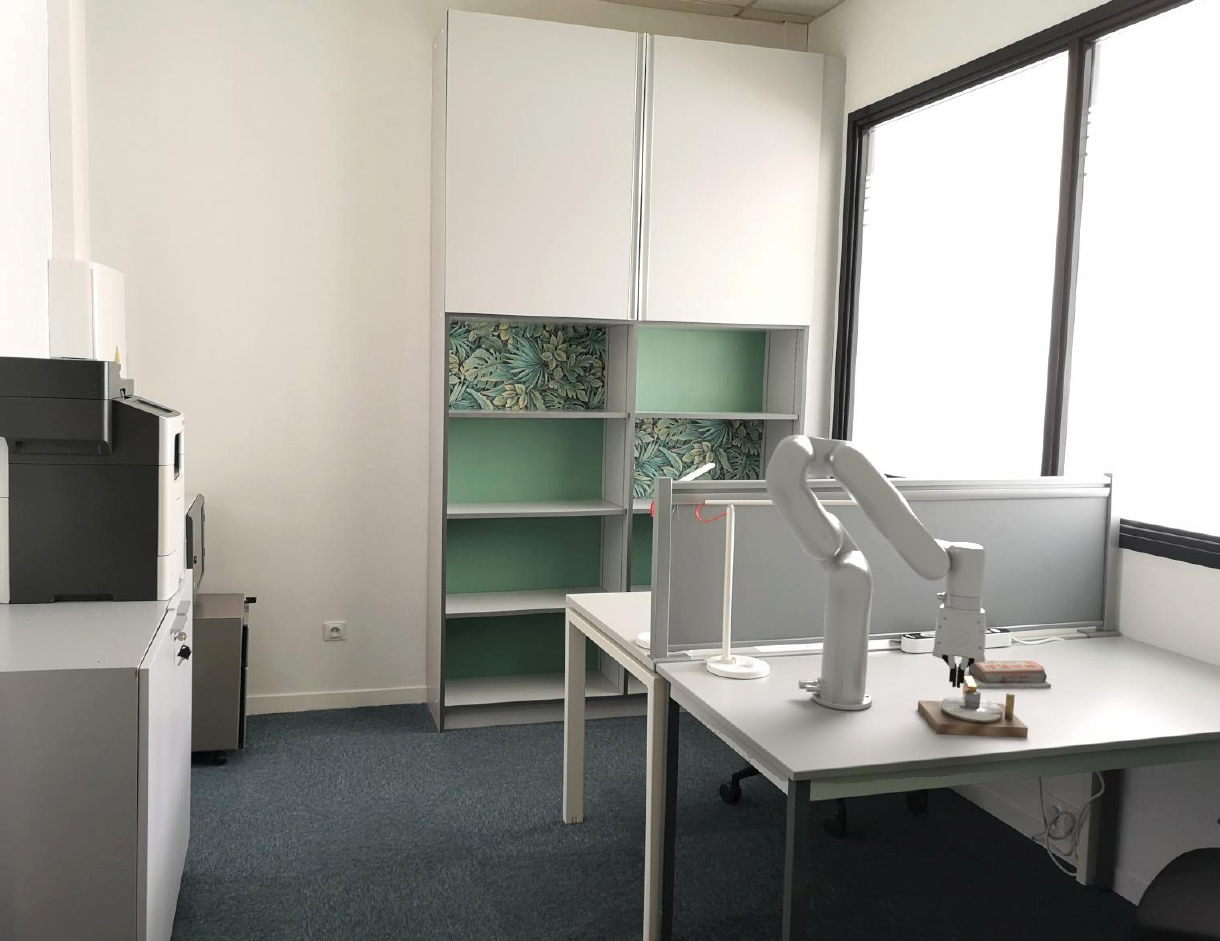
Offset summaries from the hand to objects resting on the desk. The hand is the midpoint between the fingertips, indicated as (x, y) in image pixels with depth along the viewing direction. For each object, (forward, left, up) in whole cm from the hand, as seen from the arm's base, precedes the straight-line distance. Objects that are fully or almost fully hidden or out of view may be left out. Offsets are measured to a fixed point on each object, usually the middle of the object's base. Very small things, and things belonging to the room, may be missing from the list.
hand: (956, 685), depth 221 cm
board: (+2, -6, -6) cm, 9 cm away
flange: (+2, -5, -3) cm, 7 cm away
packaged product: (+19, +23, -6) cm, 31 cm away
